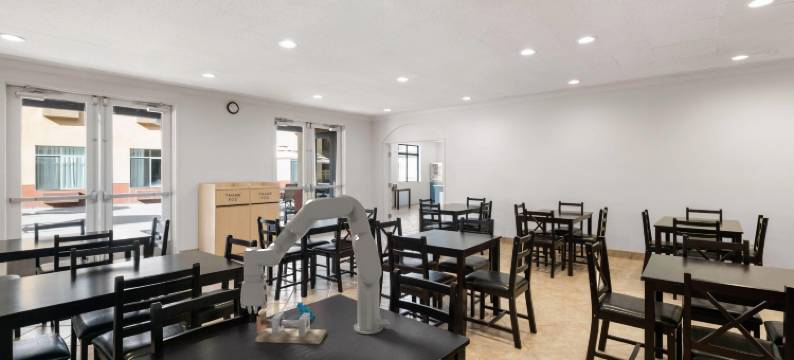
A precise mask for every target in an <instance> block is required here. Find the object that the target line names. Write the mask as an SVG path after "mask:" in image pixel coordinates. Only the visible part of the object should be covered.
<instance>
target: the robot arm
mask: <svg viewBox="0 0 794 360" xmlns="http://www.w3.org/2000/svg"><path fill="white" fill-rule="evenodd" d="M340 218H341V219H342V218H346V219H347V222H348V226H349V231H350V236H351V244H352V250H353V253H354V259H355V263H356V282H357V285H356V287H357V288H356V289H357V293H356V297H357V298H356V299H357V301H356V303H357V304H356V305H357V306H356V308H357V309H356V310H357V312H356V313H357V315H356V316H357V323H354V325H353V330H354V332H356V333H359V334H362V335H372V334H373V335H374V334H378V333H380V332H382V331H383V330H384V329H383V328H384V326H385V327H390V324H391V323H390V320H388V319H383V318H382V316H381V315H380V278H381V276H382V273H383V272H382V264H381V259H380V253H379V250H378V245H377V243H376V240H375V238H374V236H373V234H372V231H371V225H370V222H369V218H368V214H367V211H366V210H365V207H364V205H362V203H361V202H360V201H359V200H357V198H355V197H353V196H351V195H347V194H338V195H336V196H335V197H328V198H315V197H312V198H310V199H308V200H307V201H306V202H305V203H304V204H303V205H302V207H300V209H299V210H298V211H297V212H296V214H295V215H294V216H293V217H292V218H291V219H290V220H289V221H288V222H287V223H286V225H285V226H284V229H282V231H281V232H280V233H279V235H277V237H276V238H275V239H274V240H272V242H271V244H269V246H268V247H267V248H264V249H263V248H262V247H260V246H259V247H258V246H253V247H250V246H249V247H247V248H245V249H244V251H243V281H242V283H241V288H240V299H239V300H240V307H241V308H242V309H244V310H246V311H247V312H248V314H249V321H250V324H257V316H258V315H259V314H260V313H259V312H260V311H261V310H264V309H266V308H268V302H269V293H268V285H267V281H266V279H267V275H266V274H265V273H264V267H276V266H278V265H279V264H280V262H281V261H282V259H283V258H284V256H285V255H286V254H287V253H288V251H290V249H291V248H292V247H293V246H294V245H295V244H296V243H297V242H298V241H299V240H301V239H302V238H303V237H304V236H306V234H307V233H308V232H309V231H310V229H311V228H313V226H314V225H315V224H316V223H317V222H318V221H326V220H327V221H328V220H332V219H334V220H335V219H340Z"/></svg>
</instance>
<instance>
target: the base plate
mask: <svg viewBox="0 0 794 360" xmlns="http://www.w3.org/2000/svg"><path fill="white" fill-rule="evenodd" d="M326 334H327V329H317V328H315V329H314V328H313V329H311V328H310V331H309V333H308V334H307V336H306V337H305V338H299V328H284V331H283V332H282V333H281V334H280V335H279V337H272V327H267V328H266V329H265V330H264V331H263V332H262V333H261V334H258V335H257V336H256V337H255V342H256V343H276V344H277V343H279V344H280V343H281V344H282V343H283V344H285V343H286V344H314V345H316V344H317V345H319V344H321V343H322V341H323V339H324V338H325V336H326Z"/></svg>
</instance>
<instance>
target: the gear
mask: <svg viewBox="0 0 794 360" xmlns="http://www.w3.org/2000/svg"><path fill="white" fill-rule="evenodd" d="M296 308H297V311H298V312H300V313H299V314H300V315H298V316H297V317H296V320H299V318H300V317H301V316H302V315H303V313H310V321H313V320H314V314H313V311H311V307H310V306H307V305H306V304H304V303H303V302H297V304H296Z"/></svg>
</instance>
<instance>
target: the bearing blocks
mask: <svg viewBox="0 0 794 360" xmlns="http://www.w3.org/2000/svg"><path fill="white" fill-rule="evenodd" d="M271 320H272V325H271V328H272V337H279V335H280V334H281V333H282V332H283V331H284V329H285V326H280V320H285V312H283V311H282V312H281V311H279V312H277V313H276V314H275V315H274V316H272V317H271ZM306 321H307V326H306ZM298 329H299V338H305V337H306V336H307V334H308V333H309V331H310V329H311V320H310V313H303V315H302V316H301V317H300V318H299V326H298Z"/></svg>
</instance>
